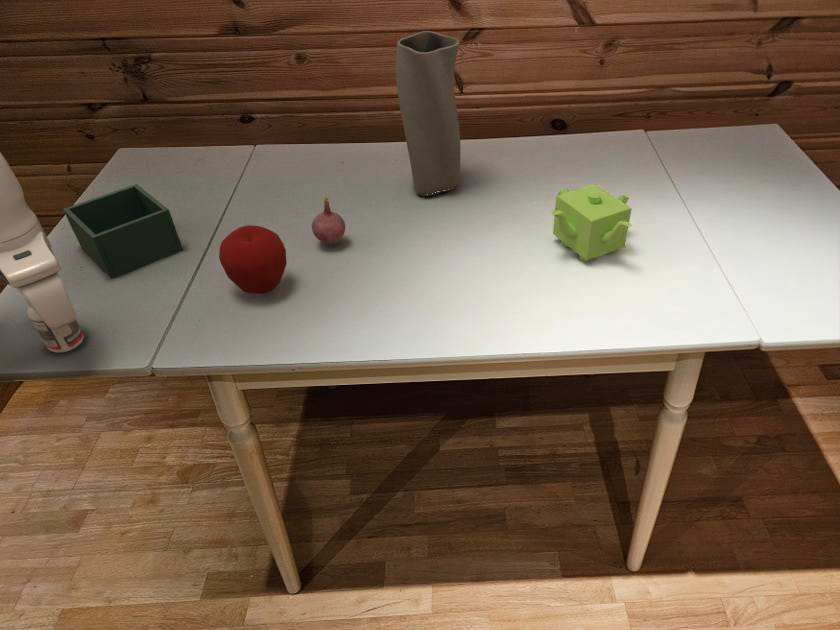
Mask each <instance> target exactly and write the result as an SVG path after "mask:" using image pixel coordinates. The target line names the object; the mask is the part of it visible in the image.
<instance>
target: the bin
mask: <svg viewBox="0 0 840 630" xmlns="http://www.w3.org/2000/svg"><path fill="white" fill-rule="evenodd" d="M62 210H63V212H64V215H65V216H66V219H67V221H68V223H69V225H70V227H71V230H72V232H73V233H74V236H75V237H76V240H77V242H78V243H79V246H80V248H81V250H82V251H83V252H84V253H85V254H86V255H87V256H88V257H89V258H90V259H91V260H92V261H93V262H94V263H95V264H96V265H97V266H98V267H99V268H100V269H101V270H102V272H104V273H105V275H107V276H108V278H110V279H111V280H113V279H116V278H118V277H120V276H123V275H125V274H128V273H130V272H132V271H135V270H138V269H140V268H142V267H144V266H148V265H150V264H152V263H154V262H156V261H157V262H158V261H160V260H162V259H165V258H168V257H169V256H171V255H174V254H177V253H179V252H182V251H183V250H184V249H183V245H182V242H181V240H180V237H179V234H178V231H177V229H176V226H175V223H174V220H173V217H172V214H171V211H170V209H169V208H167V207H166V206H165V205H164V204H162V203H161V202H160V201H159V200H158V199H156V197H154V196H152V194H150V193H149V192H148V191H146V190H145V189H144V188H142V187H141V186H140V185H139V184H138V183H135V184H132V185H129V186H127V187H126V186H125V187H124V188H120V189H118V190H115V191H112V192H107V193H105V194H103V195H100V196H97V197H94V198H91V199H88V200H85V201H82V202H79V203H76V204H73V205H70V206H68V207H65V208H62Z"/></svg>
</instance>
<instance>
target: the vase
mask: <svg viewBox="0 0 840 630" xmlns="http://www.w3.org/2000/svg"><path fill="white" fill-rule="evenodd" d="M459 46H460V40H459V39H458V38H456V37H454V36H449V35H444V34H442V33H438V32H436V31H432V30H431V31H430V30H424V31H419V32H417V33H414V34H412V35H409V36H405V37H402V38H400V39H398V40H397V43H396V54H395V55H396V57H395V80H396V81H395V83H396V91H397V98H398V105H399V106H398V107H399V111H400V115H401V121H402V127H403V131H404V137H405V142H406V147H407V152H408V158H409V163H410V170H411V175H412V183H413V188H414V191H415V192H416V193H417V194H418V195H420V196H422V197H430V196H434V195H437V194H440V193H445V192H449V191H450V190H448V189H451V190H453V189H454V188H456V187H457V186H458V184H459V183H460V177H461V160H462V159H461V153H462V152H461V150H462V149H461V148H462V147H461V134H460V133H461V132H460V121H459V114H458V108H457V102H456V101H457V100H456V93H455V85H454V84H455V66H456V62H457V55H458V52H459ZM456 185H457V186H456ZM455 186H456V187H455ZM453 187H454V188H453ZM452 188H453V189H452ZM443 190H447V191H443ZM437 191H440V192H437ZM435 192H436V193H435ZM432 193H433V194H432ZM427 194H428V195H427Z"/></svg>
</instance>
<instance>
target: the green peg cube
mask: <svg viewBox="0 0 840 630" xmlns="http://www.w3.org/2000/svg"><path fill="white" fill-rule="evenodd" d="M629 199H630V197H629V196H627V195H626V194H620V195H619V196H618V197H616V196H614V195H613V194H611V193H610V192H608V191H606V190H605V189H603V188H602V187H600V186H599V185H598V184H596V183H594V184H590V185H587V186H584V187H580V188H577V189H574V190H570V189H569V188H563V189H561V190H560V191H559V192H558V194H557V195H556V197H555V208H554V210H553V211H551V212H550V215H552V216H554V219H553V228H552V229H553V230H552V235H554V236H555V237H556V238H558V240H560V241H561V246H563V247H566V248H570V249H571V250H572V251H573V252H574V253H576V254H578V259H579V260H581V261H583V262H588V261H590V260H592V259H595V258H597V257H600V256H603V255H606V254H609V253H613V252H614V251H617V250H621V249H623V248H625V247H626V242H627V237H628V232H629V231H628V230H629V228H630V227H632V224H631V223H630V221H631V220H630V219H631V214H632V207H631V206H629V205H628V204H627V203H628V201H629Z"/></svg>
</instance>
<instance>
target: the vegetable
mask: <svg viewBox="0 0 840 630" xmlns="http://www.w3.org/2000/svg"><path fill="white" fill-rule="evenodd" d="M323 201H324V202H323V204H324V206H323V207H324V208H323V211H322V212H320V213H318V214H317V215H316V216H315V217H314V219H313V220H312V223H311V230H312V234H313V236H314V237H315V238H316V239H317V240H318V241H320V242H322V243H324V244H327V245H331V244H336V243H337V242H339V241H340V240H341V239H342V238H343V237H344V235H345V231H346V222H345V220H344V219H343V217H342V216H341V215H340V214H338V213H337V212H334V211H331V206H330V202H329V199H328V197H327V196H326V195H325V196H323Z"/></svg>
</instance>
